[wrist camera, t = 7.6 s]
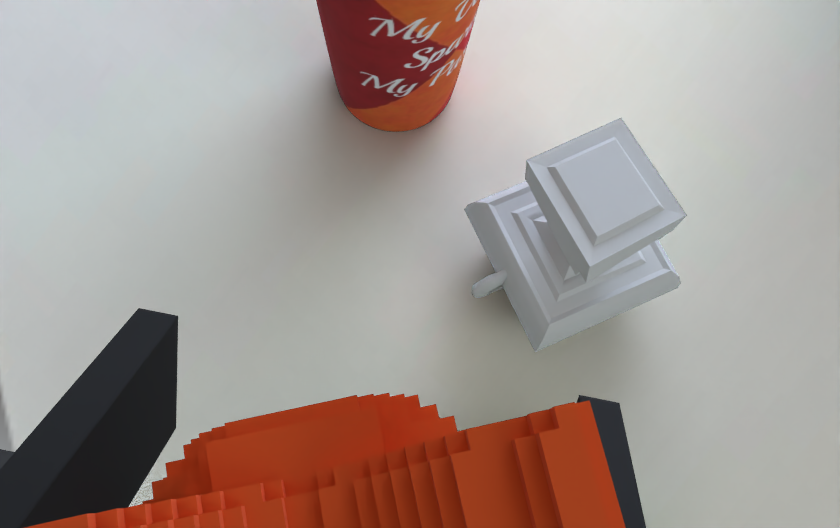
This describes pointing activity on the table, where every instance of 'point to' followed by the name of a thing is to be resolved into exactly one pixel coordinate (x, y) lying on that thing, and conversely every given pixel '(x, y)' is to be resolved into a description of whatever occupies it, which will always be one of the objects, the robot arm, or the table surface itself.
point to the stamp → (579, 235)
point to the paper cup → (396, 56)
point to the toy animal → (382, 472)
